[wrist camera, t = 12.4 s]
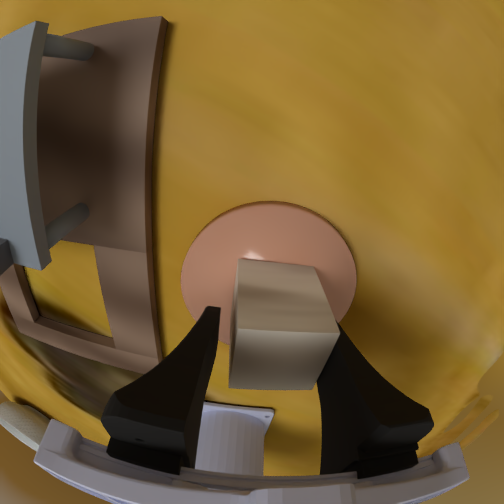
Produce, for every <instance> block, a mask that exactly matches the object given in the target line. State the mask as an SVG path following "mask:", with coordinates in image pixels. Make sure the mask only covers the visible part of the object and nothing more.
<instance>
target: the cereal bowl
mask: <svg viewBox="0 0 504 504" xmlns="http://www.w3.org/2000/svg"><path fill="white" fill-rule="evenodd" d="M50 421H51V420H49V419H48V418H47V417H46V416H44V415H43V414H42V413H40V412H39V411H37V410H36V409H34V408H32V407H30V406H28V405H20V404H17V403H15V402H4V403H2V404H0V424H1V425H2V426H3V427H5V428H6V429H7V430H8V431H9V432H10V433H11V434H13V435H14V436H15V437H17V438H18V439H19V440H20V441H22V442H23V443H25V444H26V445H28V446H29V447H30V448H32V449H34V450H35V451H37V450H38V448H39V446H40V443H41V441H42V439H43V436H44V434H45V432H46V429H47V427H48V425H49V423H50Z"/></svg>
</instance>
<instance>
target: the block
mask: <svg viewBox="0 0 504 504" xmlns="http://www.w3.org/2000/svg"><path fill="white" fill-rule="evenodd" d="M339 335H340V331H339V328H338V326H337V323H336V321H335V318H334V315H333V313H332V310H331V308H330V305H329V303H328V300H327V298H326V295H325V293H324V290H323V288H322V285H321V283H320V281H319V278H318V276H317V273H316V271H315V269H314V266H305V265H295V264H285V263H275V262H265V261H255V260H245V259H238V263H237V270H236V278H235V286H234V293H233V301H232V308H231V316H230V349H229V388H236V389H256V390H312V388H313V387H314V385H315V383H316V381H317V379H318V377H319V375H320V373H321V371H322V370H323V368H324V366H325V364H326V362H327V360H328V358H329V356H330V354H331V352H332V350H333V347H334V345H335V343H336V341H337V339H338V337H339Z"/></svg>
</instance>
